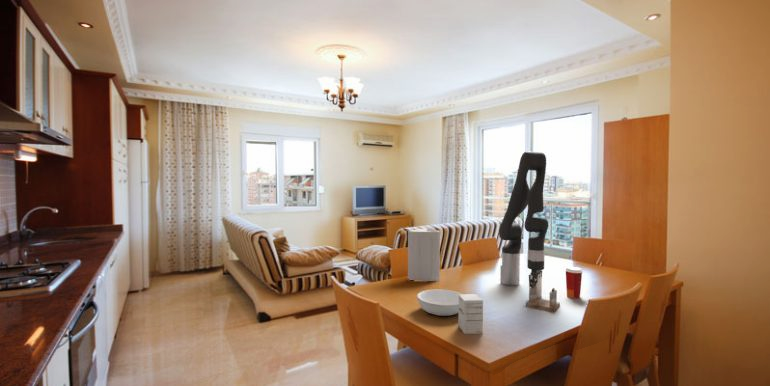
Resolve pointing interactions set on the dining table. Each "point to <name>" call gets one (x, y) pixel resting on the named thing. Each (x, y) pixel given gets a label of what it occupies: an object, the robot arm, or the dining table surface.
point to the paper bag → (424, 254)
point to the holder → (542, 303)
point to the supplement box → (470, 314)
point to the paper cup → (573, 282)
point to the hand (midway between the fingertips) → (535, 293)
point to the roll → (538, 288)
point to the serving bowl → (439, 301)
